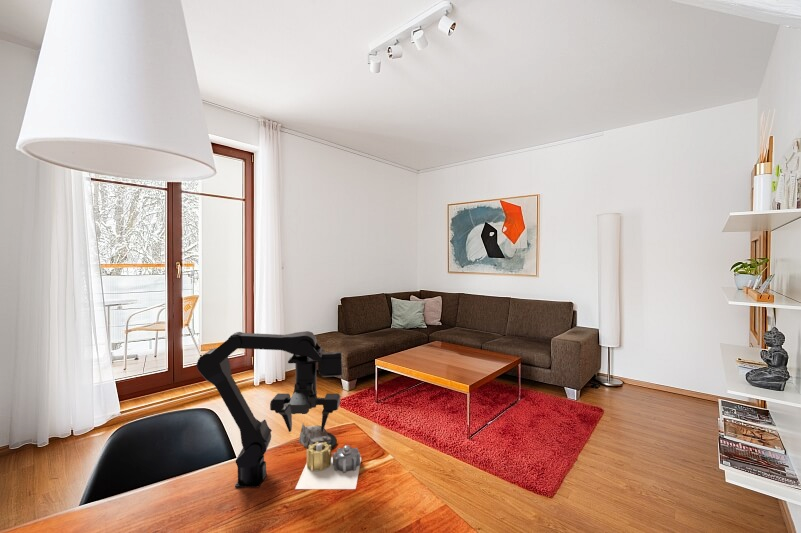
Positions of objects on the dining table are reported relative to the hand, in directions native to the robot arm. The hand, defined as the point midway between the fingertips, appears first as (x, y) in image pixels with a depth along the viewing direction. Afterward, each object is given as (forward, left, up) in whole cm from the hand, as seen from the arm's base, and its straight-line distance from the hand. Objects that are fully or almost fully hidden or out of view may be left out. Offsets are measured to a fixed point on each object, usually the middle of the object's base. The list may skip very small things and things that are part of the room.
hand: (306, 431), depth 103 cm
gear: (+11, +3, -12) cm, 16 cm away
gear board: (+7, -1, -13) cm, 15 cm away
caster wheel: (0, +15, -13) cm, 20 cm away
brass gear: (+3, +3, -11) cm, 12 cm away
